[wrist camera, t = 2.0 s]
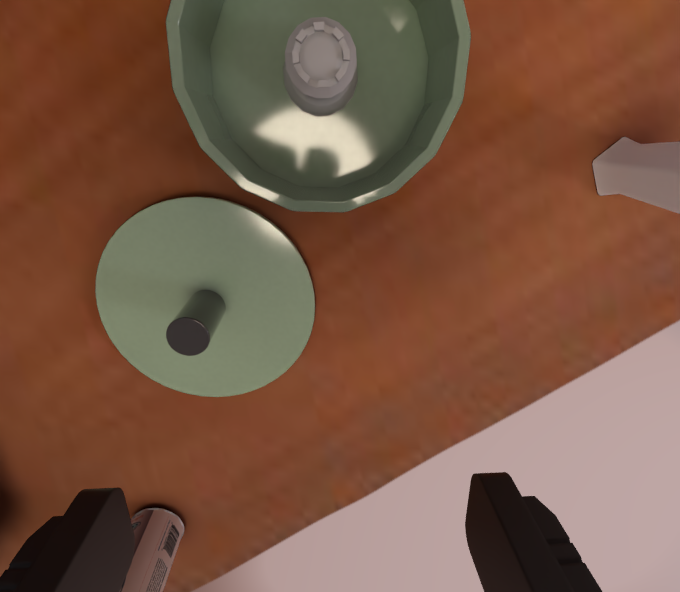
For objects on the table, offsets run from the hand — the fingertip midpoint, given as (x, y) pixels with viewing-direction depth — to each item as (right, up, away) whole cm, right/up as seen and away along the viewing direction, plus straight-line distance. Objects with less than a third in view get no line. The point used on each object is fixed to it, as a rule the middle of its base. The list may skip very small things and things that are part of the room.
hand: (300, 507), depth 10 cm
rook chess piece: (0, +18, +16) cm, 24 cm away
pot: (0, +18, +16) cm, 24 cm away
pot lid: (-9, +4, +21) cm, 23 cm away
